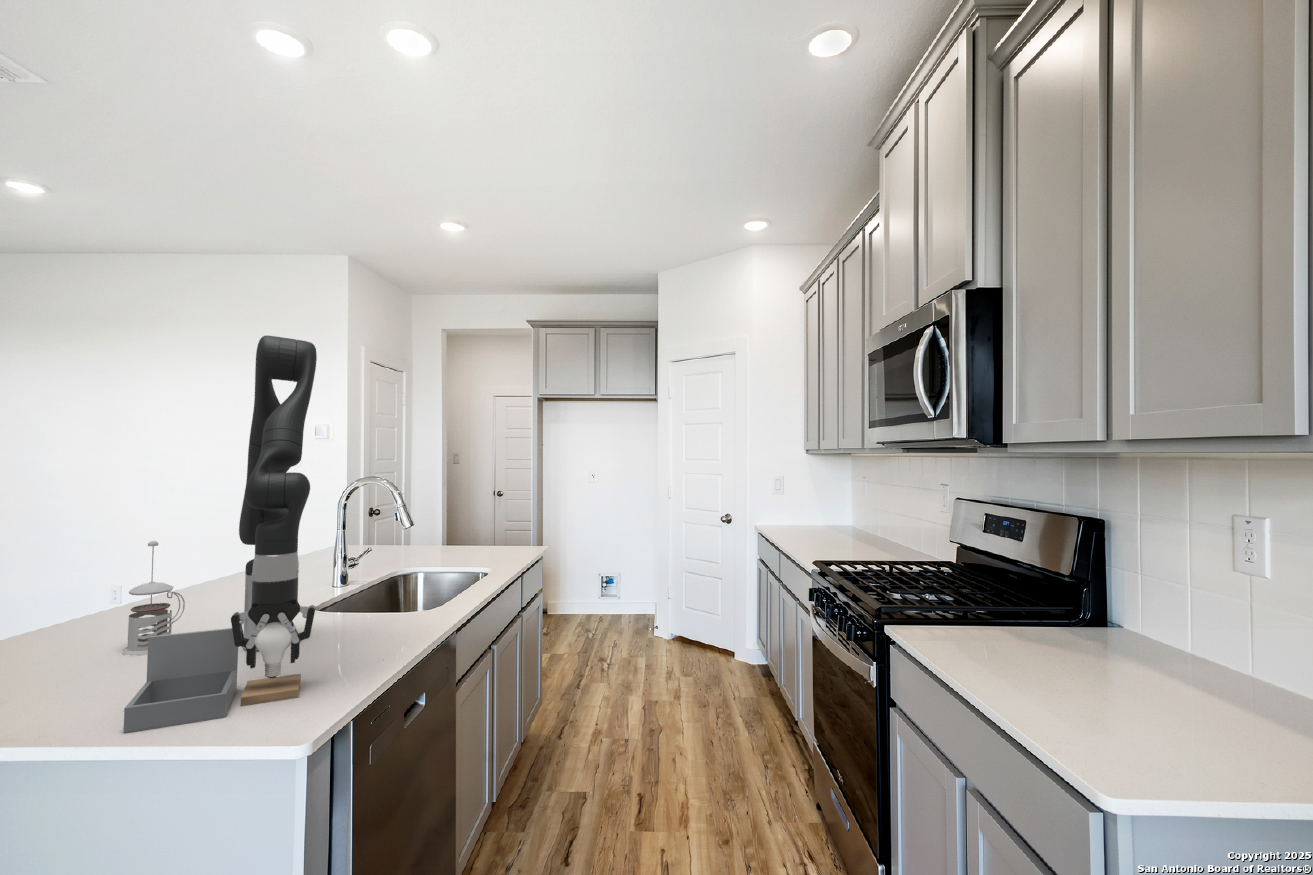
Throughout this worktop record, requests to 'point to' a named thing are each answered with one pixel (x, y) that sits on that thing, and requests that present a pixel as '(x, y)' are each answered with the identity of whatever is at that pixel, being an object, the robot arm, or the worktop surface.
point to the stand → (271, 689)
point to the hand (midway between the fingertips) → (273, 663)
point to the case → (185, 680)
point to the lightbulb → (273, 647)
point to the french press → (160, 612)
